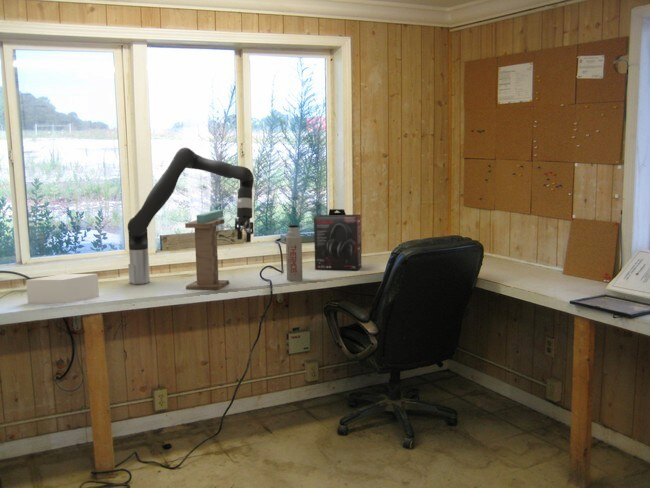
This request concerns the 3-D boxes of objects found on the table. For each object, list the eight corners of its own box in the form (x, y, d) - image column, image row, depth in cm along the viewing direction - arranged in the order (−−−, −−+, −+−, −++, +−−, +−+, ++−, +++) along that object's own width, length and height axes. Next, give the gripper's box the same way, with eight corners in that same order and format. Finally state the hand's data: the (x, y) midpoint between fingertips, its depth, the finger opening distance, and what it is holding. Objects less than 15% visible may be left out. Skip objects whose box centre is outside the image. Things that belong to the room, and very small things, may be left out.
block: (100, 299, 296) (99, 276, 294) (27, 307, 284) (26, 283, 282) (97, 293, 310) (96, 271, 308) (28, 300, 297) (26, 277, 296)
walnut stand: (200, 281, 332) (197, 218, 327) (230, 282, 329) (228, 219, 324) (184, 290, 313) (181, 223, 308) (216, 291, 310) (213, 223, 305)
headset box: (314, 269, 360) (313, 210, 355) (319, 265, 372) (318, 207, 367) (358, 271, 354) (357, 210, 349) (361, 266, 367) (361, 208, 362)
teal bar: (216, 216, 336) (216, 209, 335) (223, 216, 335) (223, 210, 335) (196, 222, 311) (196, 215, 310) (203, 222, 310) (203, 215, 310)
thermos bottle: (298, 281, 328) (297, 226, 324) (284, 280, 331) (282, 225, 327) (305, 278, 335) (304, 224, 331) (290, 277, 338) (289, 224, 334)
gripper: (245, 211, 330) (244, 243, 328) (230, 206, 318) (229, 239, 315) (258, 210, 328) (257, 242, 325) (244, 204, 315) (243, 237, 312)
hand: (244, 240), depth 320 cm, fingers open, 8 cm apart
